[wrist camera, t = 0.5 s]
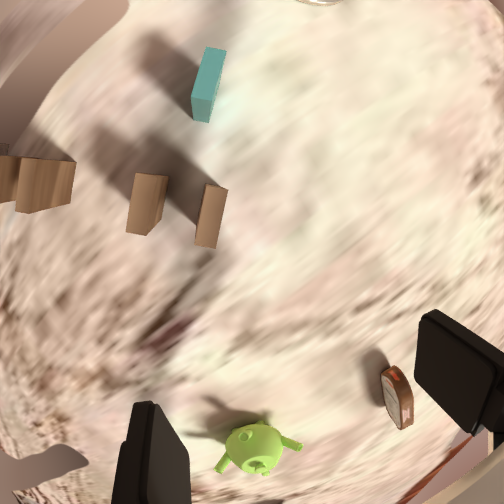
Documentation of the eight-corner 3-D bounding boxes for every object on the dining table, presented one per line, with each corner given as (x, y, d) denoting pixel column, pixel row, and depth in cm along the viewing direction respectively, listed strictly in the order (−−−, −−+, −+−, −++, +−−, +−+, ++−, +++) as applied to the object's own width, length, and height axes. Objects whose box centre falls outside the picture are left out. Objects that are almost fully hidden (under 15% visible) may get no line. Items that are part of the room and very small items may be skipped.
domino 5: (196, 226, 34) (194, 244, 24) (205, 183, 33) (206, 185, 23) (211, 228, 34) (215, 248, 25) (220, 186, 33) (228, 189, 24)
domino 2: (58, 201, 30) (15, 211, 21) (64, 161, 29) (21, 157, 20) (70, 203, 30) (28, 213, 21) (76, 162, 29) (35, 159, 20)
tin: (395, 405, 49) (416, 430, 41) (382, 412, 49) (402, 439, 41) (389, 356, 45) (416, 383, 37) (374, 365, 44) (400, 393, 36)
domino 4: (193, 120, 31) (190, 96, 21) (204, 81, 30) (206, 46, 20) (208, 122, 31) (211, 100, 22) (219, 84, 30) (226, 50, 21)
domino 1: (23, 195, 29) (-23, 204, 19) (28, 157, 28) (-18, 154, 18) (33, 197, 29) (-13, 206, 20) (38, 158, 28) (-7, 155, 19)
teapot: (262, 456, 46) (272, 489, 38) (207, 444, 43) (210, 481, 35) (295, 420, 44) (310, 455, 36) (236, 405, 41) (244, 445, 33)
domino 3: (146, 216, 33) (125, 232, 23) (154, 174, 32) (135, 172, 22) (161, 219, 33) (145, 235, 24) (169, 176, 32) (156, 176, 22)
